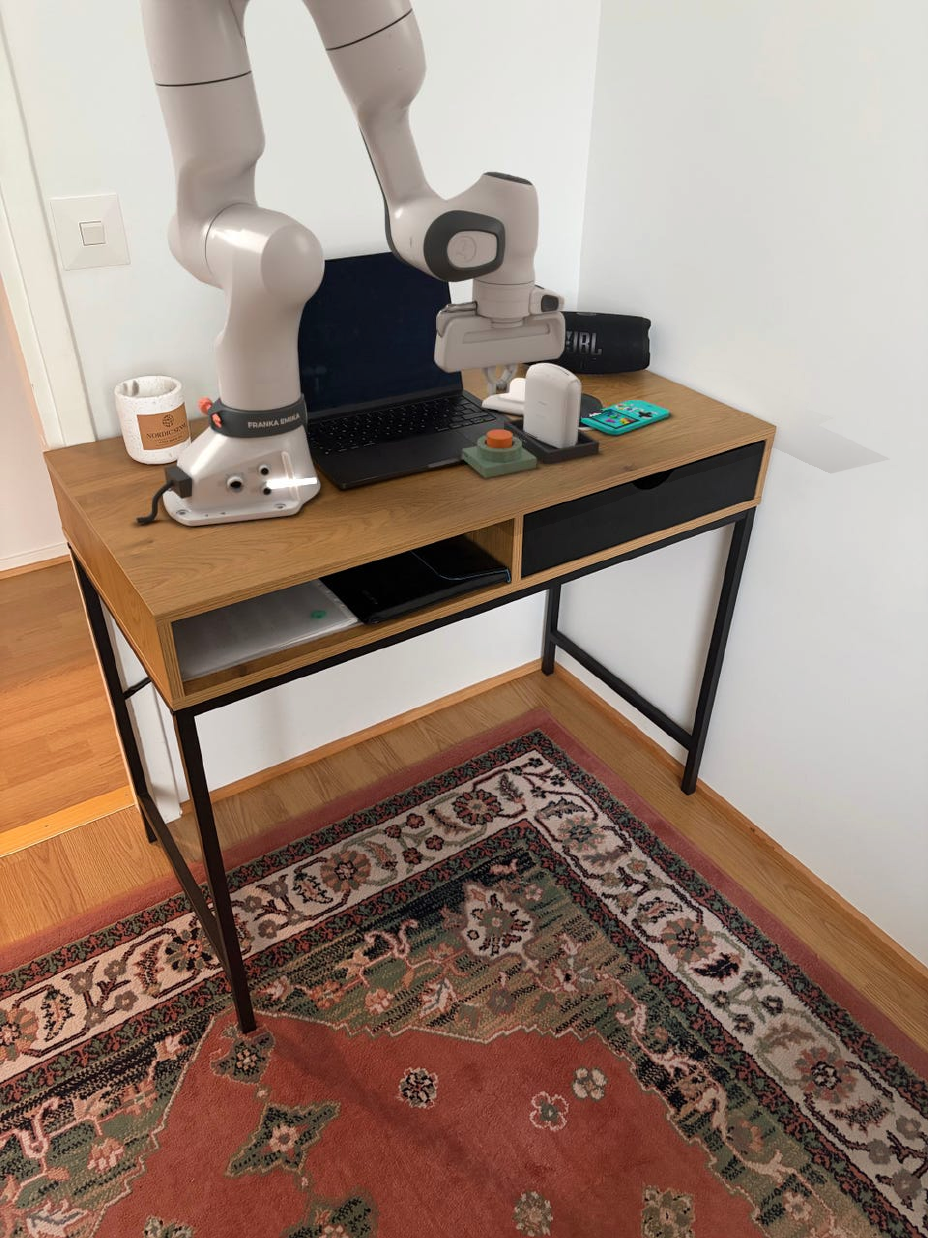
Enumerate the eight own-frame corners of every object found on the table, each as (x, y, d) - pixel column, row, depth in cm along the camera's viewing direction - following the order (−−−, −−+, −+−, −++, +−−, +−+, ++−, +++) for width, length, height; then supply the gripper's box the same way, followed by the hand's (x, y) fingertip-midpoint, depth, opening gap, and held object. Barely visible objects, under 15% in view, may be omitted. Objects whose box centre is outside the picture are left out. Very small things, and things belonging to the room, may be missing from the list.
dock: (546, 464, 143) (547, 452, 142) (503, 432, 153) (504, 421, 152) (598, 453, 146) (599, 442, 145) (552, 423, 157) (553, 412, 156)
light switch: (563, 379, 166) (540, 397, 155) (561, 401, 168) (538, 420, 158) (508, 370, 169) (482, 387, 159) (507, 392, 171) (481, 410, 161)
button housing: (485, 478, 138) (485, 456, 136) (462, 458, 144) (462, 438, 142) (536, 467, 142) (537, 446, 140) (511, 449, 147) (512, 428, 146)
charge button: (494, 451, 139) (494, 440, 138) (482, 442, 142) (482, 431, 141) (516, 447, 140) (517, 436, 139) (504, 438, 143) (505, 427, 142)
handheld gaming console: (672, 409, 160) (615, 430, 152) (671, 415, 160) (614, 436, 152) (635, 396, 165) (578, 416, 157) (635, 402, 166) (578, 421, 157)
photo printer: (518, 433, 152) (522, 360, 145) (537, 427, 154) (541, 355, 147) (561, 453, 145) (568, 377, 138) (580, 446, 147) (587, 372, 140)
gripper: (446, 310, 123) (445, 409, 130) (574, 297, 130) (565, 391, 138) (427, 299, 127) (426, 395, 135) (551, 287, 135) (544, 378, 143)
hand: (498, 392), depth 136 cm, fingers closed
